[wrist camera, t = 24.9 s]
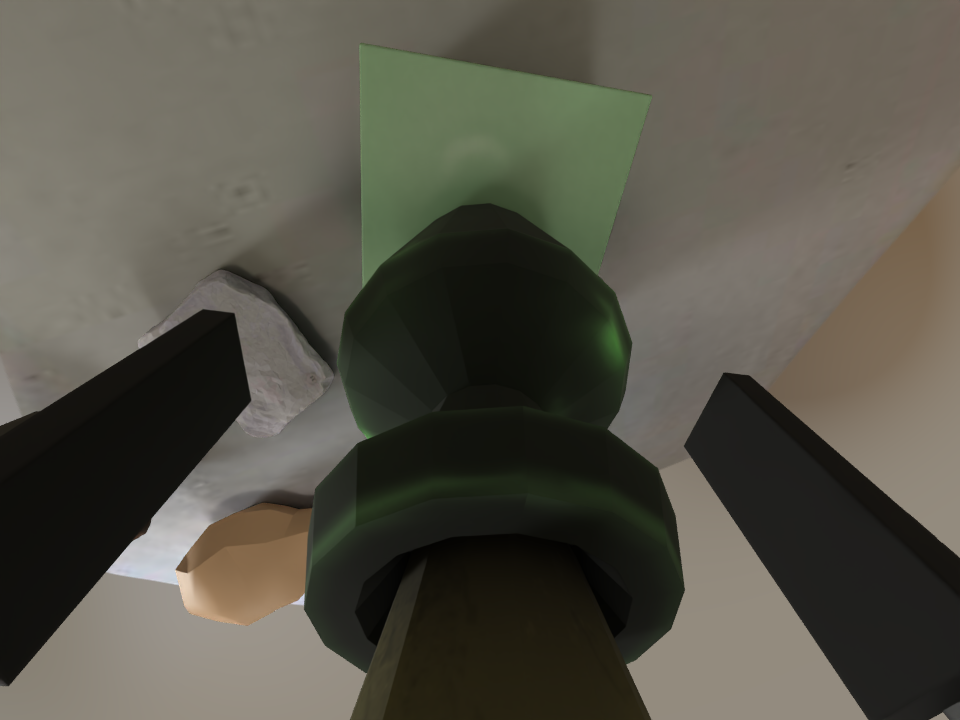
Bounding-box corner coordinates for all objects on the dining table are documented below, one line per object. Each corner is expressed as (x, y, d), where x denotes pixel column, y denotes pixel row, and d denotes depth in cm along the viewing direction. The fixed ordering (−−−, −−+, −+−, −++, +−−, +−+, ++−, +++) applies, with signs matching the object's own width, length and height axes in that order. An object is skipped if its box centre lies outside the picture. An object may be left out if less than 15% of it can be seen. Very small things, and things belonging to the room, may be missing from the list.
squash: (191, 512, 41) (122, 585, 33) (360, 444, 40) (335, 502, 31) (248, 581, 45) (200, 664, 36) (405, 521, 43) (394, 592, 35)
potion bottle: (582, 194, 17) (1597, 769, 2) (544, 352, 21) (732, 945, 6) (399, 170, 17) (-714, 693, 1) (396, 337, 21) (158, 947, 5)
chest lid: (364, 46, 15) (358, 41, 14) (645, 96, 16) (653, 94, 15) (366, 373, 23) (363, 381, 22) (556, 395, 24) (559, 403, 23)
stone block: (235, 246, 28) (151, 336, 30) (205, 258, 24) (108, 362, 25) (359, 351, 33) (282, 423, 35) (353, 376, 29) (266, 457, 31)
